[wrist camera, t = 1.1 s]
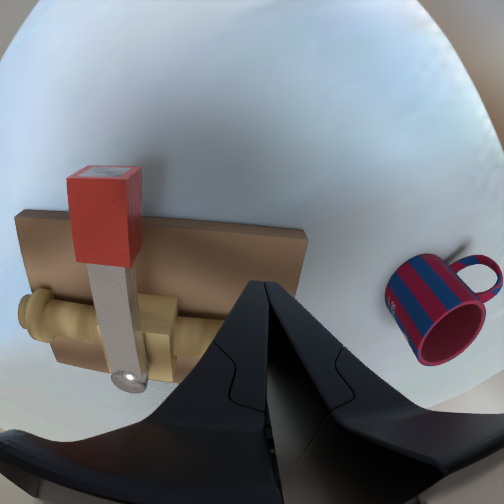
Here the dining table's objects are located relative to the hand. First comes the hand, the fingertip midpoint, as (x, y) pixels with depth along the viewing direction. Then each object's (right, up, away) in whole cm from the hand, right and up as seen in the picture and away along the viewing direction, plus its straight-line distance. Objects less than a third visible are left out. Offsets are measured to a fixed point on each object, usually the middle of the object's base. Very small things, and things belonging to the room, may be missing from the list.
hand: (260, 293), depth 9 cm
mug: (+16, -1, +15) cm, 22 cm away
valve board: (-8, -3, +15) cm, 18 cm away
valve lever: (-7, -1, +7) cm, 10 cm away
